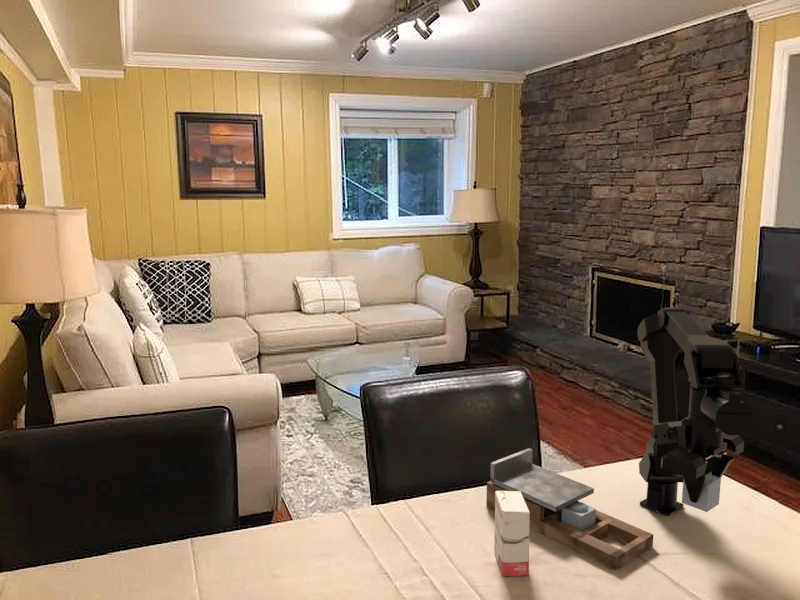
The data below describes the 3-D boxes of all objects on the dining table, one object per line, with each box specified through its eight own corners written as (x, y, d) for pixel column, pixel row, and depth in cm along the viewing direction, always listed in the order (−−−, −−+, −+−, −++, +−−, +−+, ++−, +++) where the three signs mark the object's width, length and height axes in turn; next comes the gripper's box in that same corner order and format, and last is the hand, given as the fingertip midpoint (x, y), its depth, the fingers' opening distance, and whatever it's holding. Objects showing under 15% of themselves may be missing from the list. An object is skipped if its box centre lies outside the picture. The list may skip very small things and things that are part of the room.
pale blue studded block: (575, 524, 130) (576, 498, 129) (594, 533, 126) (595, 506, 125) (561, 531, 127) (561, 505, 126) (580, 540, 124) (581, 513, 123)
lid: (528, 466, 143) (528, 448, 142) (593, 493, 130) (594, 473, 129) (490, 482, 135) (490, 462, 135) (555, 511, 123) (556, 490, 122)
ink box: (529, 576, 112) (531, 512, 110) (501, 577, 112) (502, 512, 110) (519, 549, 121) (521, 489, 119) (493, 549, 121) (494, 489, 119)
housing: (524, 489, 145) (524, 466, 144) (652, 547, 121) (654, 519, 120) (486, 506, 137) (486, 482, 136) (615, 570, 114) (617, 542, 113)
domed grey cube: (694, 495, 120) (696, 466, 119) (718, 504, 117) (721, 475, 116) (681, 502, 117) (683, 473, 116) (706, 512, 114) (708, 482, 113)
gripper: (688, 392, 126) (683, 469, 129) (635, 414, 114) (630, 497, 117) (748, 407, 118) (741, 488, 120) (697, 431, 106) (691, 521, 109)
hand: (700, 497), depth 117 cm, fingers closed on domed grey cube, 4 cm apart
